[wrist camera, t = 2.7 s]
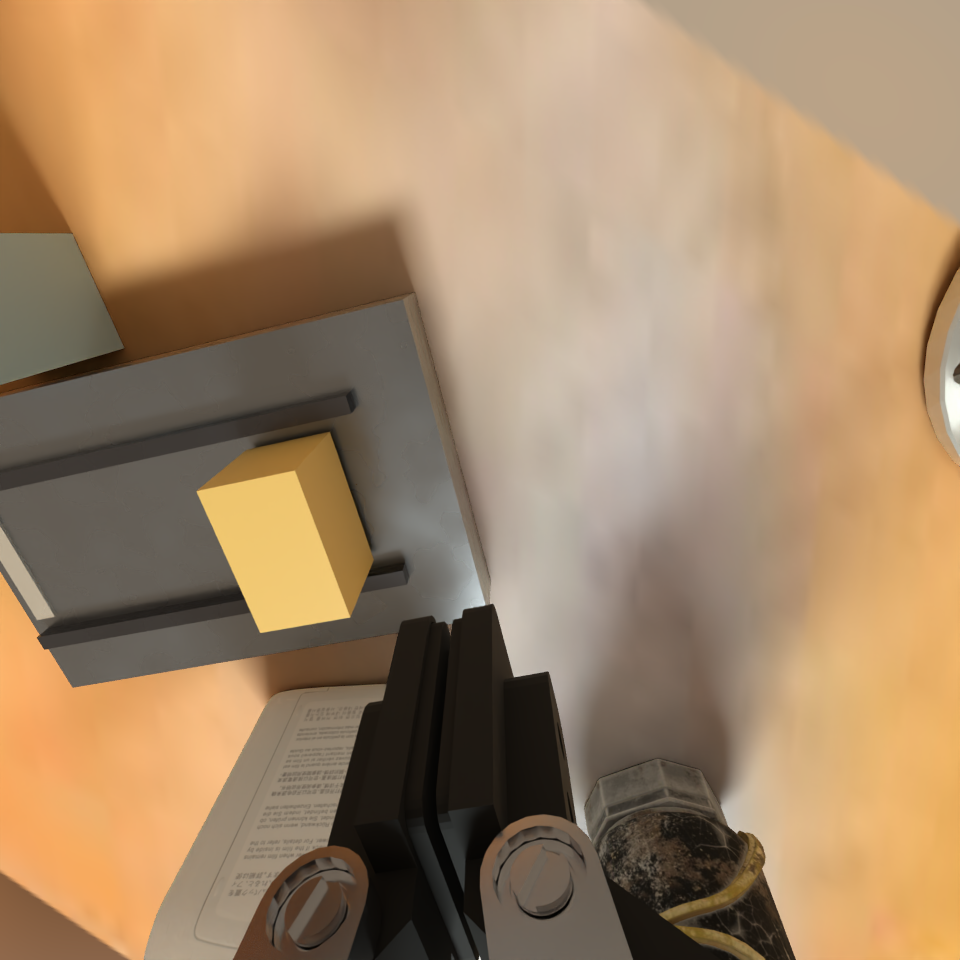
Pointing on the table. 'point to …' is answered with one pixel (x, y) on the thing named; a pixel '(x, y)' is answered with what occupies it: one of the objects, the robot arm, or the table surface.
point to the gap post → (48, 306)
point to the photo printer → (262, 820)
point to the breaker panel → (203, 454)
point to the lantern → (686, 859)
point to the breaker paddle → (290, 532)
